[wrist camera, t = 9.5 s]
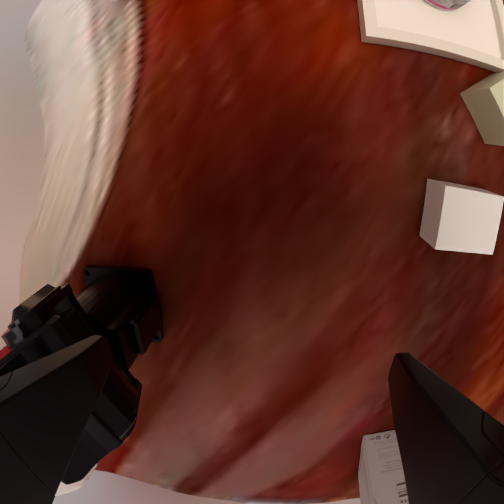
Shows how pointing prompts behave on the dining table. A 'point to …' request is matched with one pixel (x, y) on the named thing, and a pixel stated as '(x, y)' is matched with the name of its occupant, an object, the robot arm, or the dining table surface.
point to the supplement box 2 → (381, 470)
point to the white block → (460, 217)
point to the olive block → (487, 107)
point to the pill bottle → (447, 4)
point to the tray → (438, 29)
